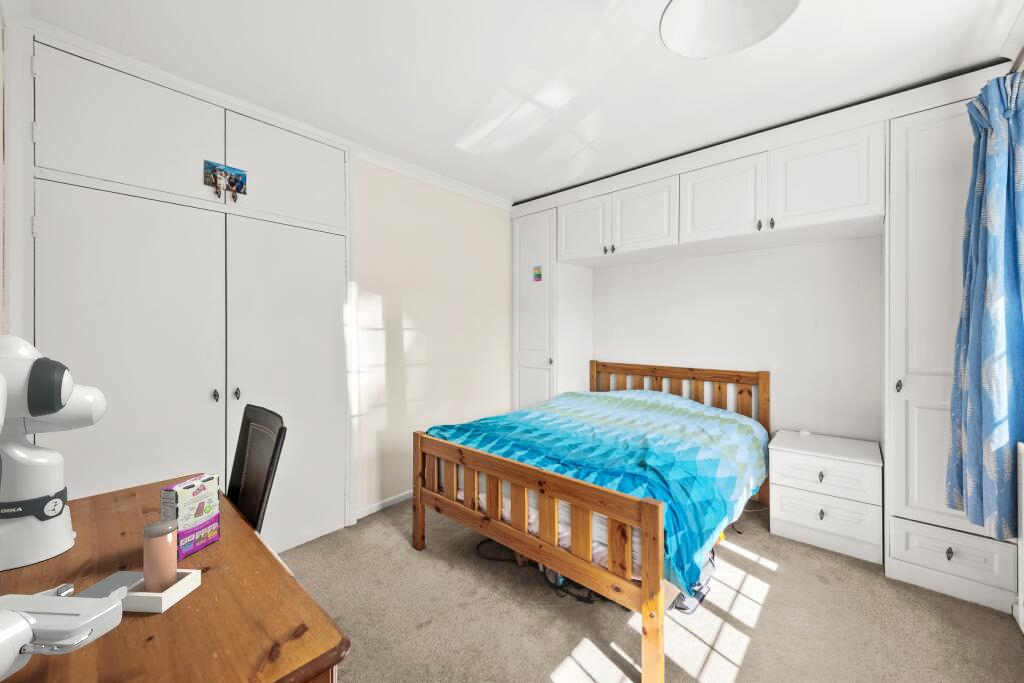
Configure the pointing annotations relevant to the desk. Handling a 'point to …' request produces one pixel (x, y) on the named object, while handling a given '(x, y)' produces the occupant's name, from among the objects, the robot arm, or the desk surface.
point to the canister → (160, 556)
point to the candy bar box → (193, 512)
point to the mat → (111, 584)
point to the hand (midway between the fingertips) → (96, 589)
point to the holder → (160, 601)
